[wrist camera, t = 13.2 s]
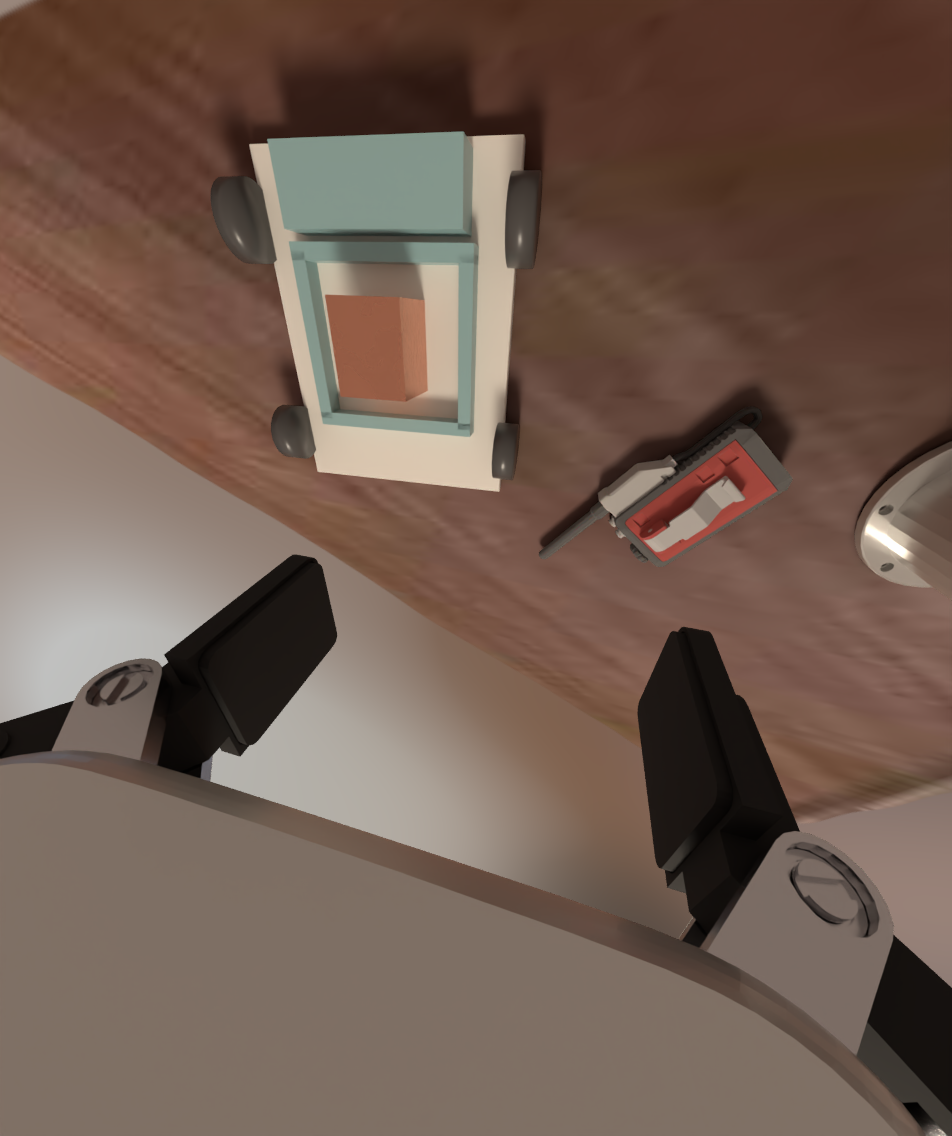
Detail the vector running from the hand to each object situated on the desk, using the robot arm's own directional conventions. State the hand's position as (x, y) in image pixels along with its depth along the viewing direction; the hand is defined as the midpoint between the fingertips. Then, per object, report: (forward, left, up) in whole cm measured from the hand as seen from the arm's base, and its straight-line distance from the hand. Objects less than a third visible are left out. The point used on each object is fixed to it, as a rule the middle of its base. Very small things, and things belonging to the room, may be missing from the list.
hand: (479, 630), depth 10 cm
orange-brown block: (+12, -5, -25) cm, 28 cm away
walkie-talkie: (-11, +7, -26) cm, 29 cm away
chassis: (+12, -5, -26) cm, 29 cm away
